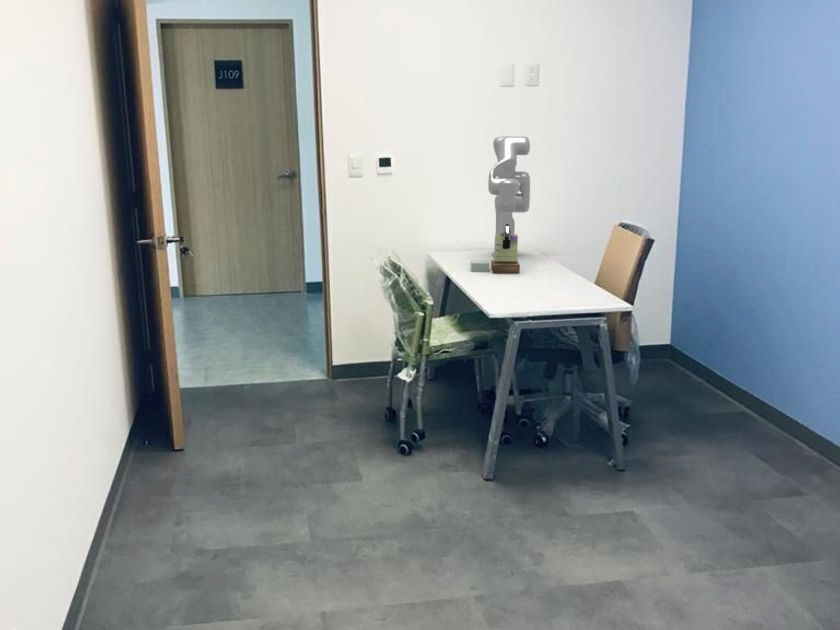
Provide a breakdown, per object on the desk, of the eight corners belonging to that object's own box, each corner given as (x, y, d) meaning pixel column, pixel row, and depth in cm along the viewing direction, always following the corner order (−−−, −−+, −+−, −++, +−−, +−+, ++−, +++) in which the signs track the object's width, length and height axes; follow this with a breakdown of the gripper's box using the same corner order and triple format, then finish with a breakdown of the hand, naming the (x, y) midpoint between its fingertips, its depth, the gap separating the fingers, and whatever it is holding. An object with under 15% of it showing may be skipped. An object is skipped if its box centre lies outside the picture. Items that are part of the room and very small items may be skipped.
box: (516, 259, 369) (517, 234, 366) (517, 261, 364) (517, 235, 361) (494, 259, 370) (494, 233, 367) (494, 261, 365) (494, 235, 362)
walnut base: (491, 268, 374) (491, 260, 373) (516, 268, 374) (517, 260, 373) (492, 273, 362) (493, 264, 361) (519, 273, 362) (519, 265, 361)
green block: (470, 268, 374) (471, 260, 373) (488, 268, 374) (488, 260, 373) (471, 271, 366) (471, 263, 366) (489, 271, 366) (489, 263, 365)
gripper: (497, 205, 370) (496, 244, 374) (499, 210, 353) (498, 250, 357) (513, 205, 369) (512, 244, 374) (516, 210, 353) (515, 250, 357)
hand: (505, 247), depth 366 cm, fingers closed on box, 5 cm apart
